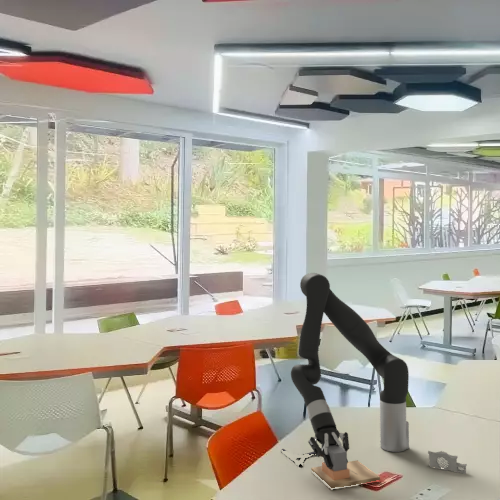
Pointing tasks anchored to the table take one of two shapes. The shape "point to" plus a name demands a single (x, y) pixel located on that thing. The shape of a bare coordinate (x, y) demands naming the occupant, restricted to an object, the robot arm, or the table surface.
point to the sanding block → (337, 463)
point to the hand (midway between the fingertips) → (338, 466)
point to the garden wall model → (450, 461)
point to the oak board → (357, 475)
